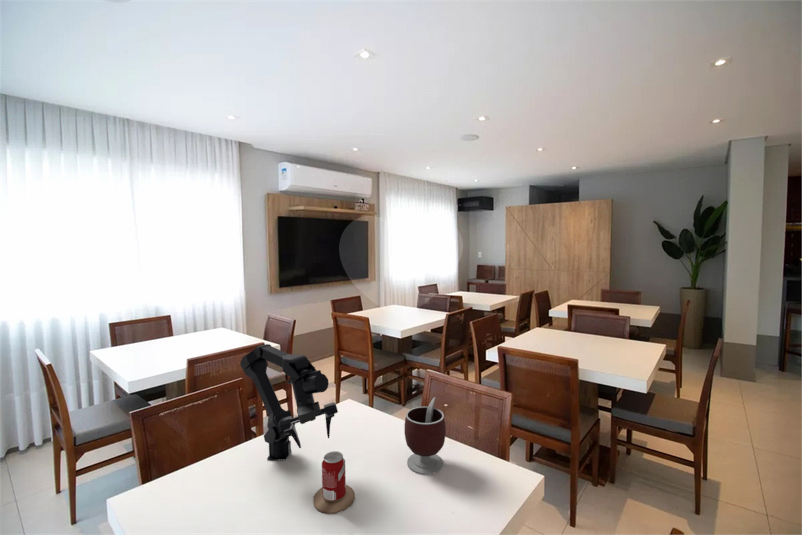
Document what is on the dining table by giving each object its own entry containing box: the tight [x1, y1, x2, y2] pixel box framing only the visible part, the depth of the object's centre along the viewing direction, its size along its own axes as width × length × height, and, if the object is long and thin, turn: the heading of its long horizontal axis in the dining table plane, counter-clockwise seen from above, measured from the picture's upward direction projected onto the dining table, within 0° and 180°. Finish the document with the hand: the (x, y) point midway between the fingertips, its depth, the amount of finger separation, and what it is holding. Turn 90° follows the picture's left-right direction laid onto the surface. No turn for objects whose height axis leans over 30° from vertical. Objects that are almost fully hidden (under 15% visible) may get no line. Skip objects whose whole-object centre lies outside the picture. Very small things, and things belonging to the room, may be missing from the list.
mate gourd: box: [404, 396, 447, 476], centre depth 126 cm, size 16×14×20 cm
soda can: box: [321, 450, 347, 502], centre depth 108 cm, size 7×7×12 cm
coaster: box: [312, 484, 356, 515], centre depth 108 cm, size 12×12×1 cm
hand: (314, 442), depth 120 cm, fingers open, 9 cm apart
